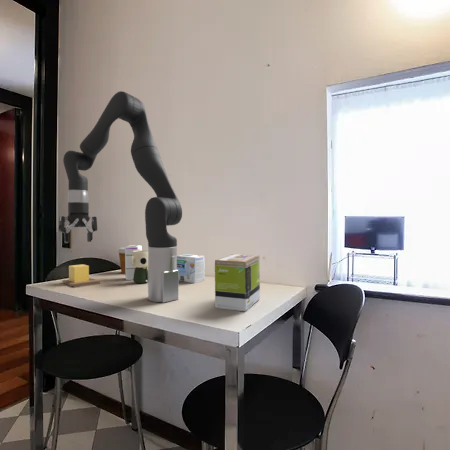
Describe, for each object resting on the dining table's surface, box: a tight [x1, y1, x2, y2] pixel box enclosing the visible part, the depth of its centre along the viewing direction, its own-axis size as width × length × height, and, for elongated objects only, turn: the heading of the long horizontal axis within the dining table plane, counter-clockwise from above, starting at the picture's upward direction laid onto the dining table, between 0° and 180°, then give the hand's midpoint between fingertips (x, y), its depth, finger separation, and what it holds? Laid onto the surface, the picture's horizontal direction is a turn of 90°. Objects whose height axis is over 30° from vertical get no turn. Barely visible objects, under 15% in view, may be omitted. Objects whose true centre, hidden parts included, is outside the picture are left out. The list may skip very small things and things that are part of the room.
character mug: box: [131, 249, 148, 284], centre depth 127 cm, size 11×7×13 cm, turn 149°
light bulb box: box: [177, 253, 206, 284], centre depth 132 cm, size 11×7×11 cm, turn 56°
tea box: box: [214, 253, 261, 312], centre depth 97 cm, size 15×10×15 cm
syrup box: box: [124, 244, 143, 281], centre depth 134 cm, size 6×6×14 cm
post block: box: [62, 277, 101, 288], centre depth 125 cm, size 12×10×5 cm
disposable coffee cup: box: [117, 246, 126, 275], centre depth 149 cm, size 10×10×12 cm
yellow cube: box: [68, 263, 90, 283], centre depth 125 cm, size 6×6×6 cm
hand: (78, 242), depth 125 cm, fingers open, 8 cm apart
